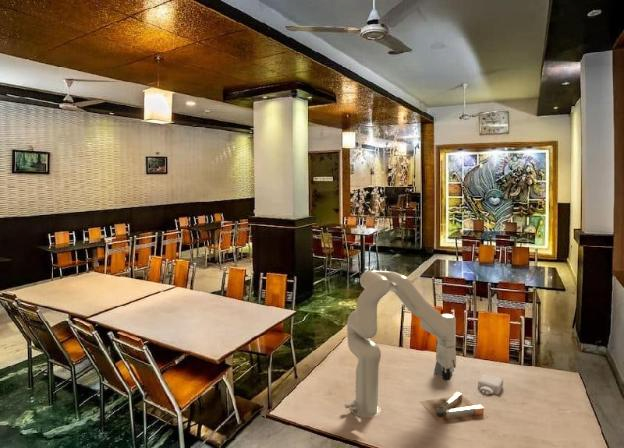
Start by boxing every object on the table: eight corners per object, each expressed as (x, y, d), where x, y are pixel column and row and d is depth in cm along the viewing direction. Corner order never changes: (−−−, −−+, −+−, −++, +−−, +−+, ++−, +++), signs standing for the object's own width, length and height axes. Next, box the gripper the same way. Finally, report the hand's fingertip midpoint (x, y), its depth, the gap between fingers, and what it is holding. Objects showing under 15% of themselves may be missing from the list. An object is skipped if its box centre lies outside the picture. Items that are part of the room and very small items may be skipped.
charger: (474, 394, 192) (482, 382, 204) (495, 401, 187) (502, 388, 199) (474, 385, 192) (483, 373, 204) (495, 391, 186) (503, 378, 198)
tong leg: (441, 417, 171) (441, 410, 171) (434, 414, 173) (434, 407, 173) (463, 400, 184) (463, 394, 184) (456, 397, 186) (457, 391, 186)
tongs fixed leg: (447, 420, 169) (447, 413, 169) (444, 416, 172) (444, 409, 171) (483, 414, 173) (483, 407, 173) (479, 411, 176) (480, 404, 175)
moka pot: (456, 370, 216) (458, 333, 214) (449, 382, 203) (450, 343, 201) (438, 366, 221) (439, 330, 219) (429, 377, 208) (430, 339, 206)
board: (441, 427, 167) (441, 424, 166) (419, 404, 184) (419, 401, 184) (488, 420, 172) (488, 417, 172) (462, 397, 189) (463, 395, 189)
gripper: (430, 336, 195) (430, 373, 197) (448, 348, 181) (447, 388, 183) (445, 334, 197) (444, 371, 199) (463, 346, 182) (462, 386, 184)
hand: (446, 379), depth 191 cm, fingers closed
